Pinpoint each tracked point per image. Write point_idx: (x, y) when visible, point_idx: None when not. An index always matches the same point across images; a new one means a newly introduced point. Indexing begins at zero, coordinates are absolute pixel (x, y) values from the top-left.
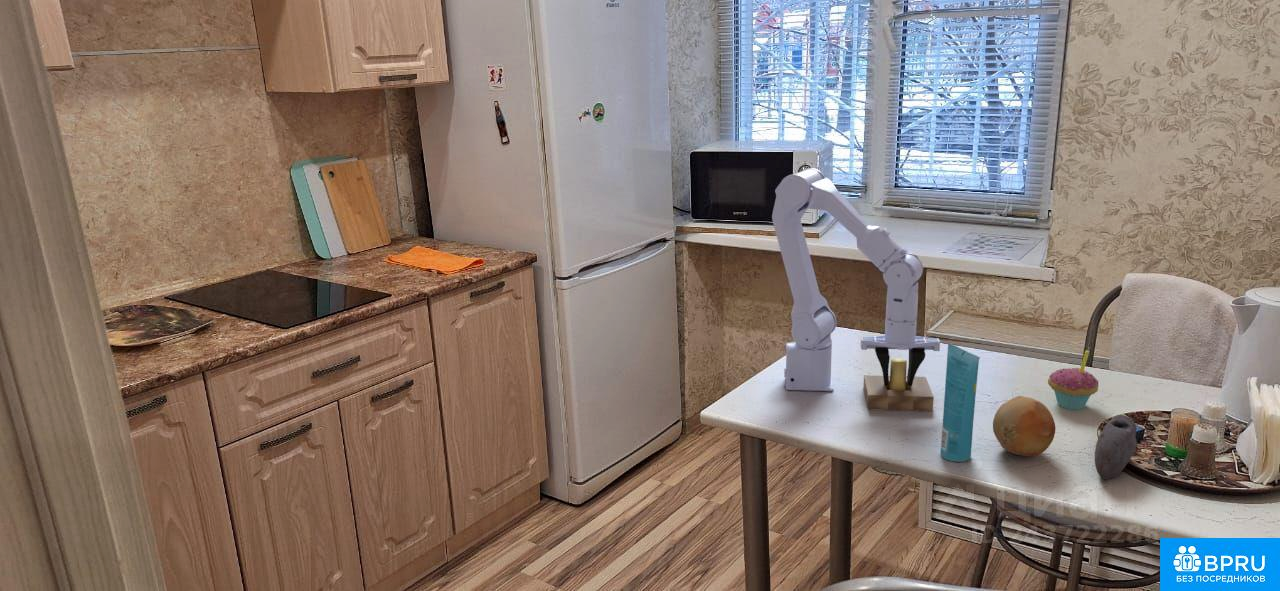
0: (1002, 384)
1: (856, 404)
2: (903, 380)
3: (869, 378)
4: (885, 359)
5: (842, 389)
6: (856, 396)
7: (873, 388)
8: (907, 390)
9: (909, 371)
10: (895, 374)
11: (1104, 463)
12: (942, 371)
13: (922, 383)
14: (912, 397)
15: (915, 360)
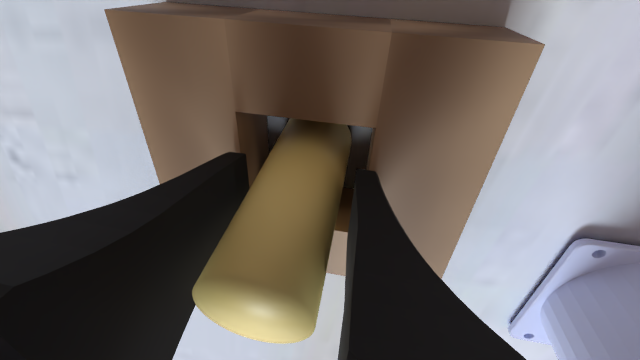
0: (11, 221)
1: (535, 101)
2: (262, 175)
3: None
4: (404, 321)
5: (515, 249)
6: (487, 187)
7: (451, 155)
8: None
9: (206, 222)
10: (303, 206)
11: None
12: None
13: None
14: (232, 17)
15: (48, 249)
